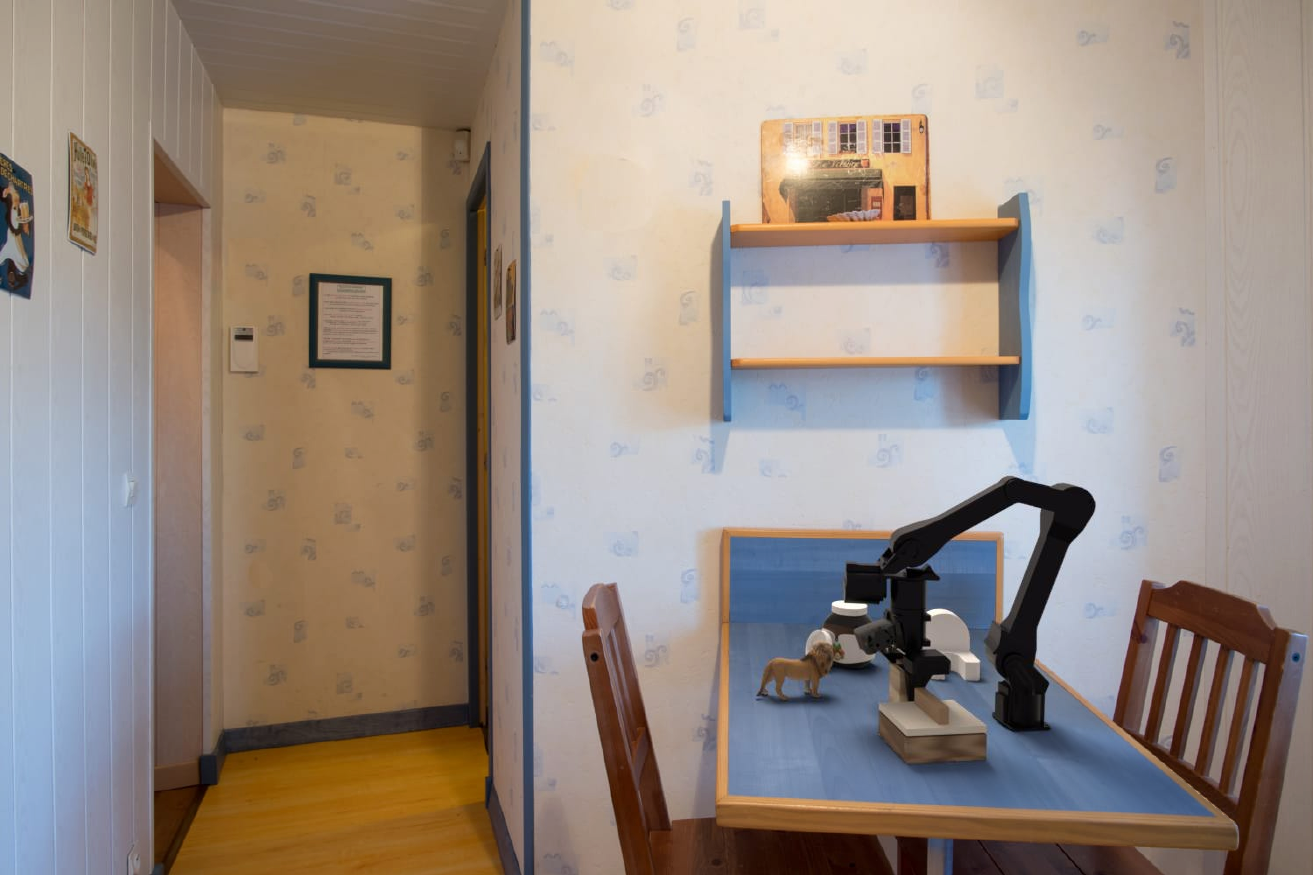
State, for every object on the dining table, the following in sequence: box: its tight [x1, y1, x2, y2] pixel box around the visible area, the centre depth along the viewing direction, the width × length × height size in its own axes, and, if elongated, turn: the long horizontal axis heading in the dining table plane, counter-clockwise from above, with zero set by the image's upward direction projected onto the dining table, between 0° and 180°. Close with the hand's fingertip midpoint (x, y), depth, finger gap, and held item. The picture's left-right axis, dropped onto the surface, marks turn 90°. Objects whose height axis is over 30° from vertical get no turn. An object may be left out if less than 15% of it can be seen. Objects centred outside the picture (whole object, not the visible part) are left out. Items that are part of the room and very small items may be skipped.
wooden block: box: [888, 659, 908, 702], centre depth 130 cm, size 4×4×8 cm
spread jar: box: [805, 600, 877, 669], centre depth 156 cm, size 12×11×12 cm
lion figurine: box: [755, 641, 834, 701], centre depth 139 cm, size 15×5×9 cm, turn 107°
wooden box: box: [878, 710, 988, 765], centre depth 118 cm, size 12×10×4 cm
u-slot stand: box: [923, 608, 981, 682], centre depth 156 cm, size 10×18×11 cm, turn 176°
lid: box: [878, 687, 988, 736], centre depth 118 cm, size 12×10×4 cm
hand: (906, 699), depth 130 cm, fingers closed on wooden block, 4 cm apart
